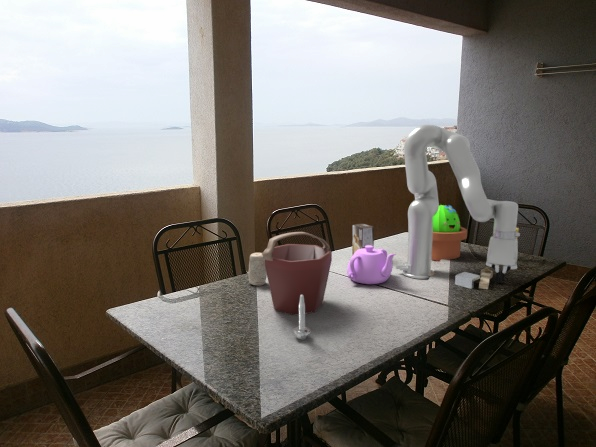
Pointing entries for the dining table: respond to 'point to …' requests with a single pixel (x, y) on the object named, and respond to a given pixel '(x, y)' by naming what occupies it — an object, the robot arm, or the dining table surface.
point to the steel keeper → (466, 279)
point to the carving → (257, 269)
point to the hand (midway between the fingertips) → (499, 282)
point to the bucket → (297, 273)
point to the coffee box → (362, 236)
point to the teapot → (370, 265)
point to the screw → (301, 321)
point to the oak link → (485, 278)
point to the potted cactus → (447, 234)
